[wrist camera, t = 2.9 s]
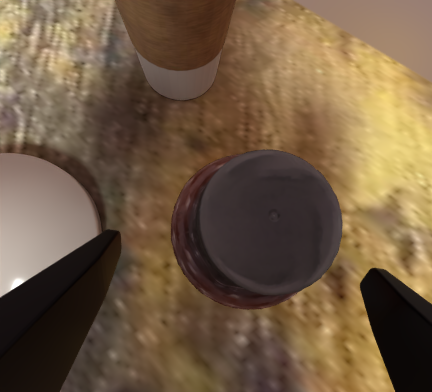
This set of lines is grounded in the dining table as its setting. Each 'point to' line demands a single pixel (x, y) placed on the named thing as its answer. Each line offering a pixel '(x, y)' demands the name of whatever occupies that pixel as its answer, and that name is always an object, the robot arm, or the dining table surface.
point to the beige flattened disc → (40, 217)
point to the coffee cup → (178, 42)
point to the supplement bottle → (256, 228)
